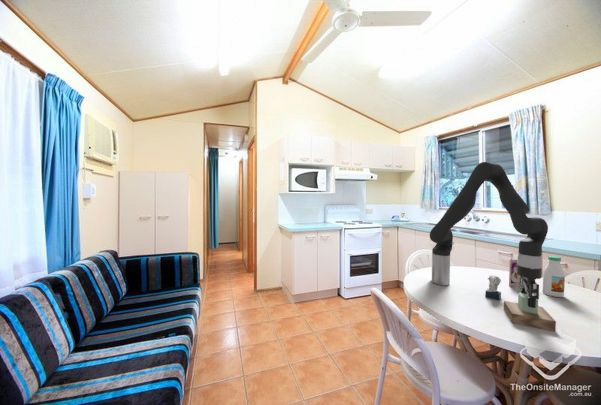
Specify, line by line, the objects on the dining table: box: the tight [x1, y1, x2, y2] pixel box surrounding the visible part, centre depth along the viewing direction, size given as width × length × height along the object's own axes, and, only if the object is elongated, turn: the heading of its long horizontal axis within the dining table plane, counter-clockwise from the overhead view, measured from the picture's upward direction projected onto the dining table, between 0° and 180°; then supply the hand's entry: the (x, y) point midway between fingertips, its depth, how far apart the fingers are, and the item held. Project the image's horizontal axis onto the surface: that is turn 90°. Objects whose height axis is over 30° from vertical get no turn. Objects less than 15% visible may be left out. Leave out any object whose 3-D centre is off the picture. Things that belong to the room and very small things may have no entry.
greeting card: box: [508, 256, 520, 287], centre depth 141 cm, size 11×7×15 cm, turn 99°
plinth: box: [503, 300, 557, 332], centre depth 102 cm, size 13×13×4 cm
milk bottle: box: [542, 255, 566, 298], centre depth 125 cm, size 8×8×20 cm
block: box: [517, 292, 539, 314], centre depth 102 cm, size 5×5×6 cm
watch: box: [484, 274, 502, 301], centre depth 123 cm, size 6×8×11 cm
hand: (527, 302), depth 102 cm, fingers open, 8 cm apart
